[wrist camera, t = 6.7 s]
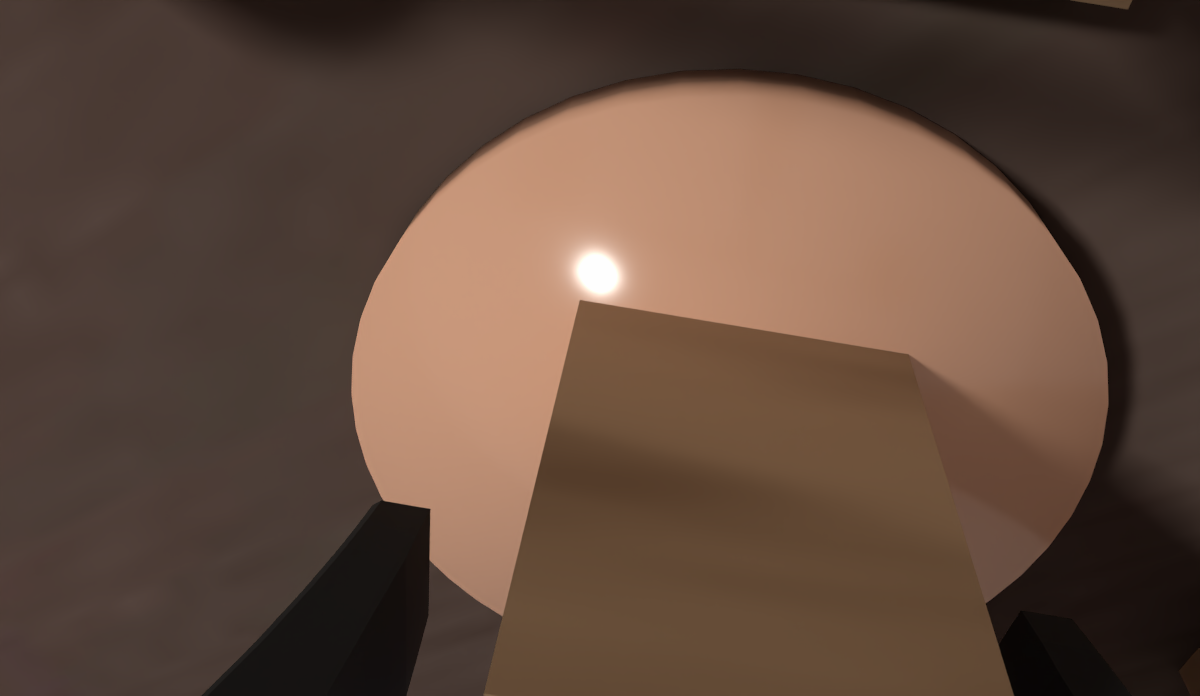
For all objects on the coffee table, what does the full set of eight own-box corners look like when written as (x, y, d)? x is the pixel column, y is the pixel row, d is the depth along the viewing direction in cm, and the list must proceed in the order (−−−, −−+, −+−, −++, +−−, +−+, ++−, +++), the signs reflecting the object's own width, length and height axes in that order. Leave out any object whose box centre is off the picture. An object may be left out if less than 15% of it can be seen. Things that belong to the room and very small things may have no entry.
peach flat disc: (930, 673, 17) (941, 720, 16) (379, 578, 17) (362, 619, 16) (1241, 146, 11) (1283, 180, 10) (361, 3, 11) (333, 24, 10)
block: (818, 573, 14) (870, 1002, 10) (549, 527, 14) (465, 929, 10) (908, 354, 12) (1043, 791, 7) (580, 300, 12) (485, 692, 7)
